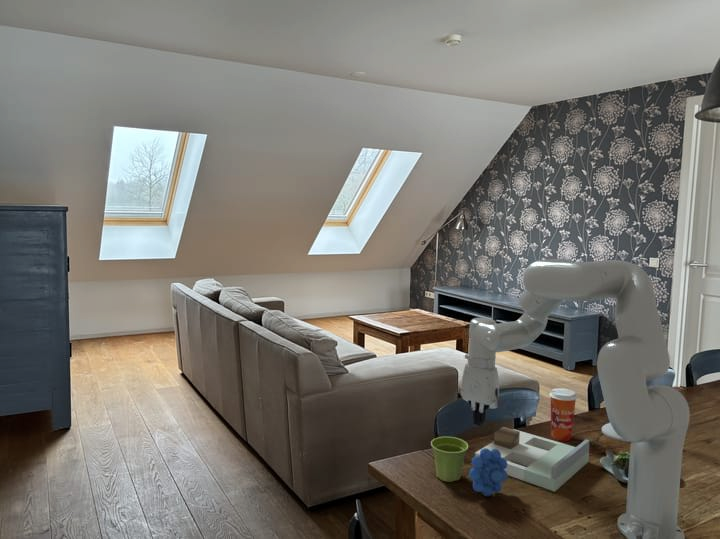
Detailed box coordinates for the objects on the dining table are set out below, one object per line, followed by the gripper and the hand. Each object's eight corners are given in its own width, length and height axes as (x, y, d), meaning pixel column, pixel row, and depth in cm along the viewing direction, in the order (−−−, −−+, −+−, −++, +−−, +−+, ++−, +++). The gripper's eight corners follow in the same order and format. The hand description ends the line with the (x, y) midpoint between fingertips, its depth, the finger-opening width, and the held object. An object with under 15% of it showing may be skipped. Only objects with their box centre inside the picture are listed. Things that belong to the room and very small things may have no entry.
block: (510, 449, 152) (511, 436, 151) (494, 444, 155) (494, 431, 155) (519, 443, 155) (519, 431, 155) (502, 438, 159) (503, 426, 158)
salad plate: (580, 458, 154) (581, 442, 154) (637, 453, 158) (638, 437, 157) (626, 493, 135) (627, 474, 135) (690, 486, 139) (691, 469, 138)
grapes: (481, 510, 126) (483, 459, 125) (462, 497, 132) (463, 448, 131) (519, 497, 132) (521, 449, 131) (498, 485, 138) (500, 438, 137)
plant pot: (468, 470, 146) (469, 438, 145) (465, 488, 137) (466, 454, 136) (433, 466, 148) (433, 434, 147) (427, 482, 139) (428, 449, 138)
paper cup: (548, 441, 165) (550, 394, 163) (546, 431, 172) (548, 386, 170) (577, 443, 163) (579, 397, 161) (573, 433, 170) (575, 388, 169)
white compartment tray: (554, 491, 135) (555, 467, 134) (474, 463, 150) (475, 441, 149) (588, 461, 151) (589, 440, 151) (513, 438, 166) (514, 419, 165)
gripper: (451, 359, 161) (449, 420, 163) (499, 370, 151) (496, 435, 153) (465, 354, 166) (463, 413, 169) (512, 364, 156) (509, 427, 159)
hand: (479, 423), depth 161 cm, fingers closed
